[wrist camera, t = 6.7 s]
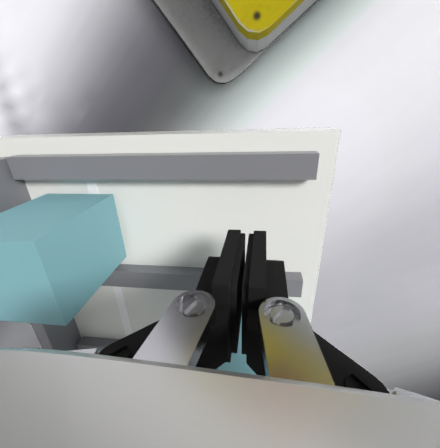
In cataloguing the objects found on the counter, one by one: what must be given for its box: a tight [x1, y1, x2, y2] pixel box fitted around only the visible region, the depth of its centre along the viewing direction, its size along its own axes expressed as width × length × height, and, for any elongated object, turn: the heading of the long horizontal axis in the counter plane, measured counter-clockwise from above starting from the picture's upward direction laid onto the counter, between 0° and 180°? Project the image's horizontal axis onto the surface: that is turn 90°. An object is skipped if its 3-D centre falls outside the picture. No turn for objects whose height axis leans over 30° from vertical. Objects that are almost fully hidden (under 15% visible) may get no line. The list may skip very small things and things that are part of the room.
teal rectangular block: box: [0, 193, 126, 326], centre depth 12 cm, size 4×4×6 cm
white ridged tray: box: [0, 127, 341, 352], centre depth 18 cm, size 20×24×4 cm
